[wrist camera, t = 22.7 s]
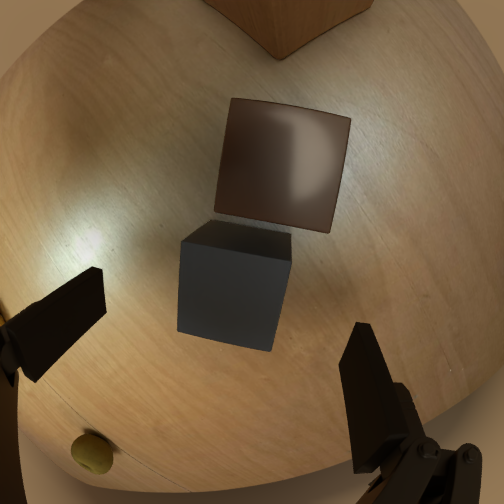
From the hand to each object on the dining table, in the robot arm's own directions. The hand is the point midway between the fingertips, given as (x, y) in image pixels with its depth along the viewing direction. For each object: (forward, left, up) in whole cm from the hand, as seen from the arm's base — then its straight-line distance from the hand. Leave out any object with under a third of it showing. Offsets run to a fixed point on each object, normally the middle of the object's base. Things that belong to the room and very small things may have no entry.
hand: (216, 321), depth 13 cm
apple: (+39, -21, -9) cm, 45 cm away
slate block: (0, 0, -9) cm, 9 cm away
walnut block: (-8, +2, -9) cm, 12 cm away
